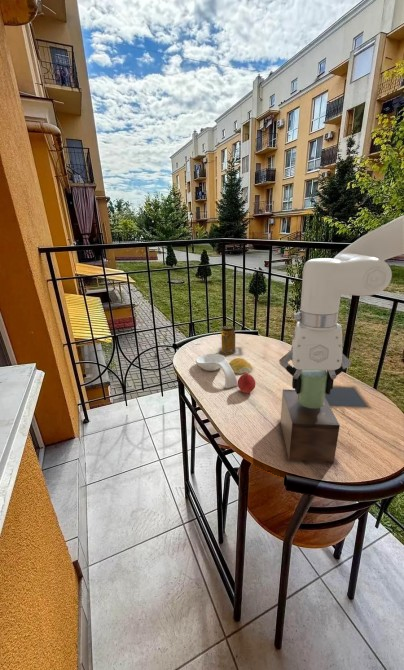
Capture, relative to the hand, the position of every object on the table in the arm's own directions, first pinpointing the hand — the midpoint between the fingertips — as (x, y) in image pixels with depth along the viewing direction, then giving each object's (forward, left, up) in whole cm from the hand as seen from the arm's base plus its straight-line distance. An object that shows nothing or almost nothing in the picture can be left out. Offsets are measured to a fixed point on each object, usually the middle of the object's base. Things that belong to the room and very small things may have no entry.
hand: (311, 390), depth 66 cm
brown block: (0, 0, -15) cm, 15 cm away
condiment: (+20, -55, -15) cm, 61 cm away
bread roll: (+16, -39, -15) cm, 45 cm away
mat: (-16, -21, -15) cm, 30 cm away
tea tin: (0, 0, -3) cm, 3 cm away
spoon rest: (+25, -35, -15) cm, 46 cm away
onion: (+14, -22, -15) cm, 30 cm away
